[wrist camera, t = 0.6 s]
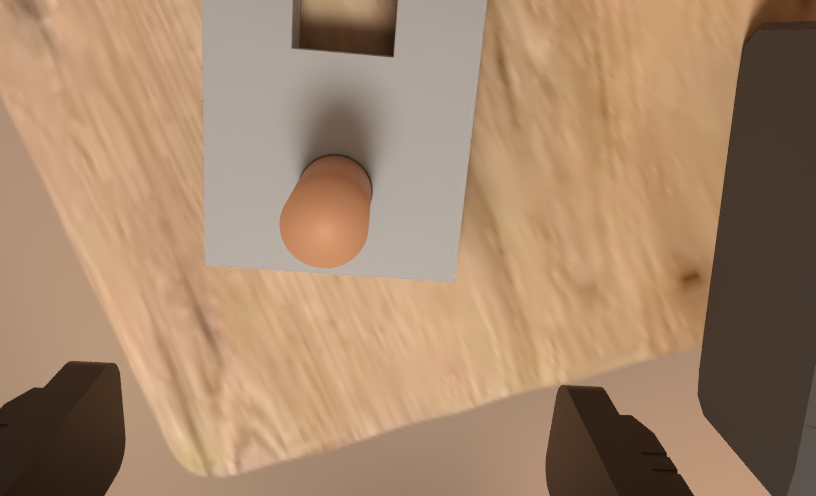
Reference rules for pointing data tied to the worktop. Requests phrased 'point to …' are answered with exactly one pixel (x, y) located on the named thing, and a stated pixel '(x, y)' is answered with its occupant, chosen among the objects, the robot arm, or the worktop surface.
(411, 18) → the jig board
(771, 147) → the handheld gaming console
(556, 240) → the worktop surface
